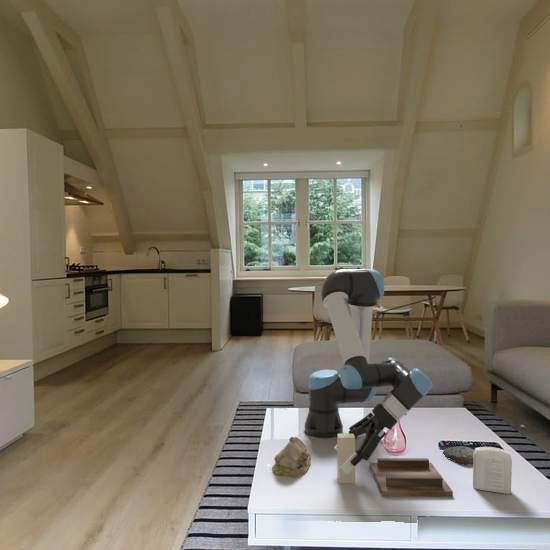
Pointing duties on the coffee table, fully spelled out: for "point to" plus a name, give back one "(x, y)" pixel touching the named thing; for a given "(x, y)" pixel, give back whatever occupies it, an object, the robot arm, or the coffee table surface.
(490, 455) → the white upright flat block
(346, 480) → the beige rectangular block
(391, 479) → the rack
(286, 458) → the ceramic model
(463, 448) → the fossil
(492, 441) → the coffee table surface
